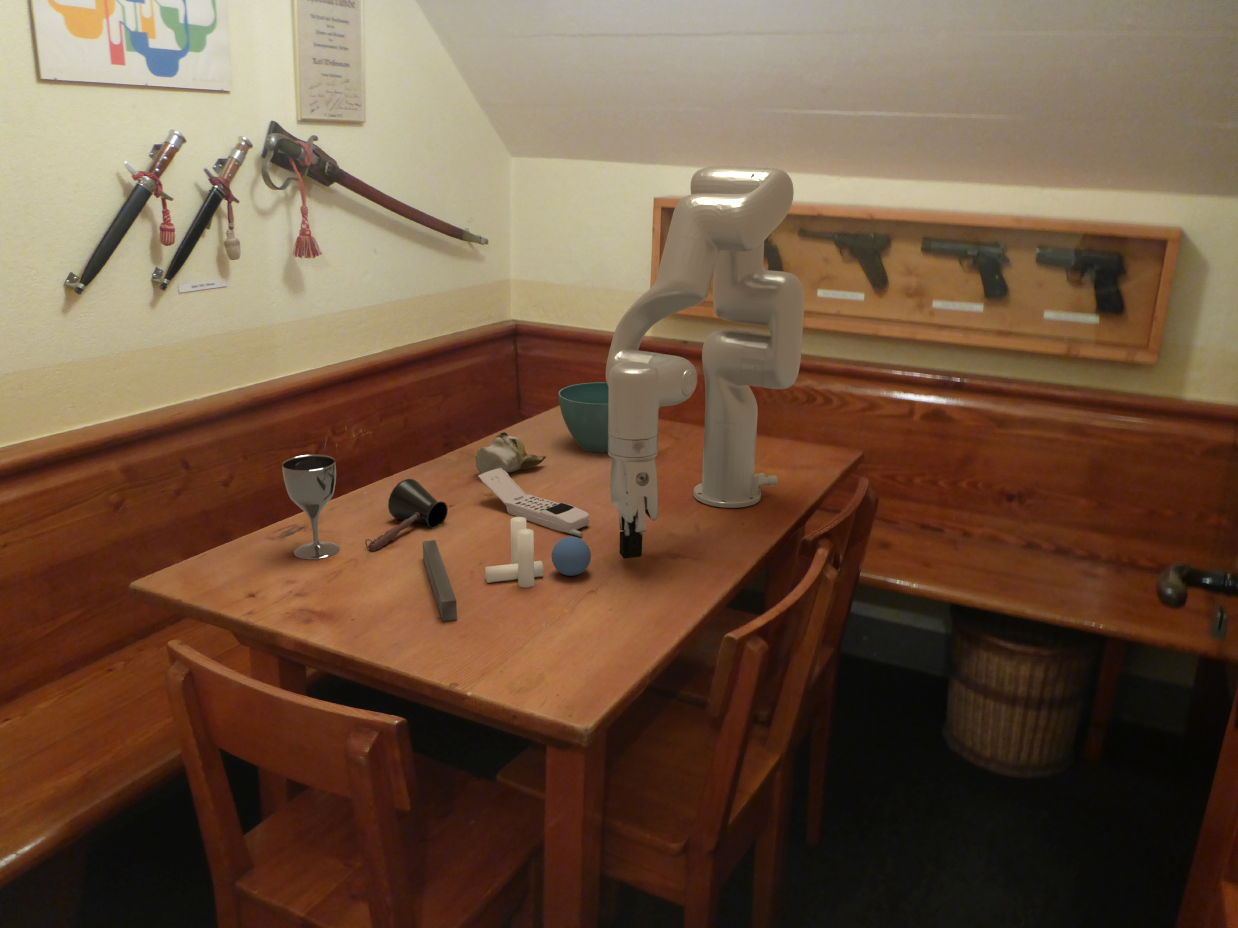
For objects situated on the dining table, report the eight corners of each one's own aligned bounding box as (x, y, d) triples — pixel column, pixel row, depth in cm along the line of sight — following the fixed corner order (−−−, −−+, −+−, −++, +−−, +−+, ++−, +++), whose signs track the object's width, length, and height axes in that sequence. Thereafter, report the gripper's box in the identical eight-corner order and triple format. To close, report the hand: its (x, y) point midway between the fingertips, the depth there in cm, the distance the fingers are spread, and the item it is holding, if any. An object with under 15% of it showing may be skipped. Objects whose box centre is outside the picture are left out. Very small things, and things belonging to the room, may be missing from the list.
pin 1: (525, 566, 153) (524, 516, 150) (528, 572, 151) (527, 521, 148) (510, 568, 152) (508, 517, 149) (513, 574, 150) (512, 523, 147)
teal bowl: (612, 465, 200) (613, 408, 196) (541, 450, 209) (541, 394, 206) (658, 444, 215) (659, 390, 211) (590, 430, 224) (590, 378, 220)
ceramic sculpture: (460, 434, 190) (507, 421, 202) (459, 477, 192) (506, 461, 204) (504, 444, 184) (549, 429, 197) (503, 487, 187) (548, 471, 199)
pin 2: (532, 579, 148) (531, 527, 146) (536, 586, 146) (535, 533, 143) (516, 581, 148) (515, 529, 145) (520, 588, 145) (519, 535, 143)
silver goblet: (314, 564, 152) (306, 473, 148) (280, 553, 156) (271, 464, 152) (352, 547, 159) (346, 460, 154) (319, 537, 163) (311, 451, 158)
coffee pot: (419, 507, 176) (453, 524, 172) (341, 550, 163) (376, 570, 159) (417, 471, 172) (452, 487, 168) (337, 512, 159) (373, 531, 155)
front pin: (539, 558, 150) (484, 564, 148) (543, 563, 148) (487, 570, 146) (540, 572, 151) (485, 579, 149) (543, 578, 149) (488, 585, 146)
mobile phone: (499, 466, 181) (600, 497, 166) (500, 496, 183) (600, 530, 168) (474, 474, 177) (576, 507, 162) (476, 505, 179) (576, 540, 163)
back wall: (436, 557, 156) (435, 540, 155) (457, 619, 136) (456, 600, 135) (423, 558, 155) (422, 541, 154) (442, 621, 135) (441, 602, 134)
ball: (538, 548, 150) (563, 569, 154) (550, 569, 145) (575, 590, 149) (567, 522, 150) (590, 543, 153) (579, 541, 145) (603, 563, 149)
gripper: (673, 457, 142) (669, 572, 148) (640, 429, 156) (638, 535, 161) (624, 461, 140) (622, 578, 146) (595, 432, 153) (594, 540, 159)
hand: (630, 555), depth 154 cm, fingers closed
